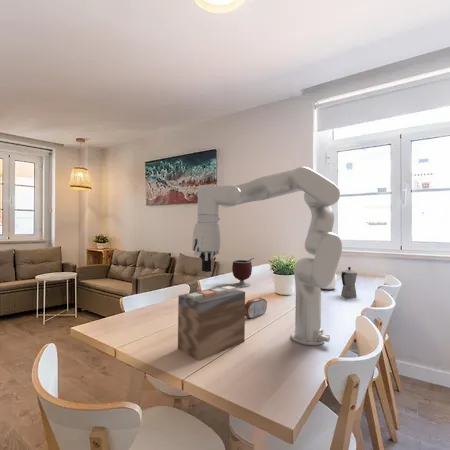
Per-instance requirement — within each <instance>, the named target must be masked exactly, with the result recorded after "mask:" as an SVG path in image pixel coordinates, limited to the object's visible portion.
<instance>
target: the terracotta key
mask: <svg viewBox="0 0 450 450" xmlns="http://www.w3.org/2000/svg"><path fill="white" fill-rule="evenodd" d="M206 290H207V291H203V290H201V291H202V292H200V294H202V295H203V296H205V297H209V296H213V295H215V292H212V291H209V290H208V289H206Z"/></svg>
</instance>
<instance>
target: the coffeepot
mask: <svg viewBox="0 0 450 450" xmlns="http://www.w3.org/2000/svg"><path fill="white" fill-rule="evenodd" d="M340 274H341V275H340V276H341V277H340V278H341V282H342V289H341V293H340V294H341V297H344V298H348V299H350V298H351V299H352V298H353V299H354V298H357V289H356V282H357V281H356V280H357V276H358V271H355V270H351V266H348V267H347V269H346V270H345V269H344V270H341V273H340Z"/></svg>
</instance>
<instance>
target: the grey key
mask: <svg viewBox="0 0 450 450" xmlns="http://www.w3.org/2000/svg"><path fill="white" fill-rule="evenodd" d="M215 288H216V289H212V288H210V289H211V291H212V292H215V294H222V293H226V290H225V289H221V288H217V287H215Z"/></svg>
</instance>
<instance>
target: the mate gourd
mask: <svg viewBox="0 0 450 450" xmlns="http://www.w3.org/2000/svg"><path fill="white" fill-rule="evenodd" d="M254 259H255V257H252V258H250V259H248V260H246V259H237V260H233V261H232V268H231V271H232V275H233V276H234V278H235V279H236V280H239V282H235V283H233V284H232V287H236V288H250V287H251V284H250V283H249V282H245V280H247V279H249V278H250V277H252V276H251V275H252V274H253V273H252V271H253V266H252V264H253V263H252V261H253V260H254Z"/></svg>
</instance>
